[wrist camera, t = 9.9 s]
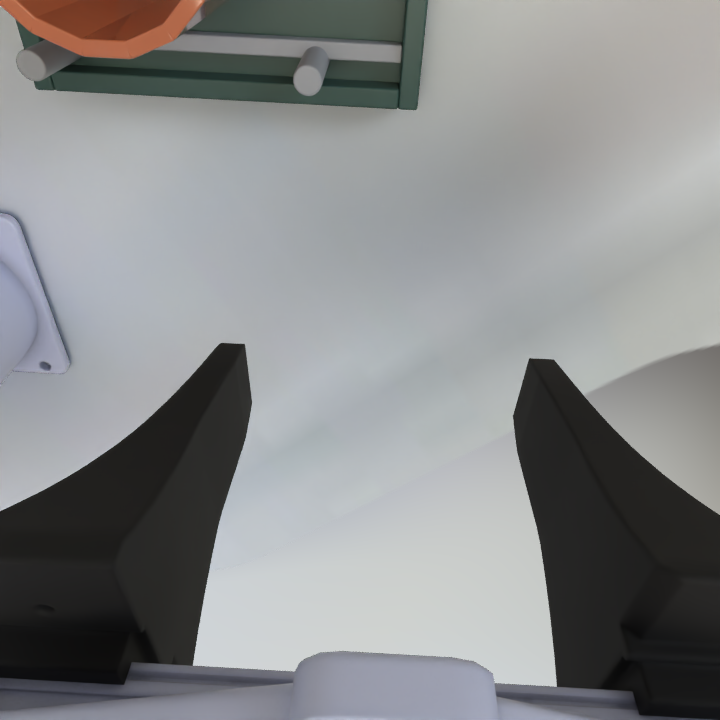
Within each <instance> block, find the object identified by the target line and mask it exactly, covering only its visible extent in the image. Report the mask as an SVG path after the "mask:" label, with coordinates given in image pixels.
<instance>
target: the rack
mask: <svg viewBox="0 0 720 720" xmlns="http://www.w3.org/2000/svg"><path fill="white" fill-rule="evenodd" d="M427 4H428V0H228V1H227V2H226V3H224V4H223V5H222V6H220V7H219V8H218V9H216V10H215V11H213V12H212V13H211V14H209V15H208V16H207V17H205V18H204V19H203V20H201V21H200V22H199V23H197V24H196V25H194V26H193V27H192V28H190V29H189V30H188V31H186V32H185V33H184V34H182V35H181V36H180V37H178V38H177V39H175V40H174V41H173V42H170V43H168V44H166V45H164V46H161V47H159V48H157V49H154V50H152V51H150V52H148V53H145V54H143V55H141V56H139V57H136V58H134V59H133V58H132V59H117V58H99V57H84V56H80V55H78V54H76V53H74V52H72V51H69V50H67V49H65V48H63V47H61V46H59V45H56V44H54V43H52V42H50V41H48V40H46V39H43V38H41V37H39V36H37V35H35V34H33V33H32V32H30V31H28V30H27V29H26V28H25V27H24V26H23V25H22V24H21V23H19V22H18V21H17V20H16V23H17V26H18V29H19V33H20V36H21V40H22V43H23V46H24V50H22V51H20V52H19V53H18V55H17V58H16V63H17V66H18V69H19V70H20V72H21V73H22V74H23V75H24V76H25V77H26V78H28V79H30V80H32V81H34V83H35V87H36V89H38V90H57V91H73V92H91V93H109V94H128V95H146V96H164V97H183V98H201V99H220V100H238V101H256V102H275V103H293V104H311V105H330V106H348V107H367V108H385V109H397V108H399V109H403V110H416V109H417V106H418V96H419V86H420V76H421V65H422V55H423V45H424V35H425V25H426V15H427Z"/></svg>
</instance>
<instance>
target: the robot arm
mask: <svg viewBox="0 0 720 720" xmlns="http://www.w3.org/2000/svg"><path fill="white" fill-rule="evenodd" d="M45 362H47V363H48V364H47V363H45ZM49 364H50V365H49ZM69 367H70V362H69V359H68V356H67V353H66V351H65V348H64V345H63V342H62V340H61V337H60V334H59V331H58V329H57V326H56V323H55V320H54V318H53V315H52V312H51V309H50V307H49V304H48V301H47V298H46V296H45V293H44V290H43V287H42V285H41V282H40V279H39V276H38V274H37V271H36V268H35V265H34V263H33V260H32V257H31V254H30V252H29V249H28V246H27V244H26V241H25V238H24V235H23V233H22V230H21V227H20V225H19V223H18V221H17V220H16V219H15V218H14V217H12V216H10V215H8V214H4V213H0V386H1V385H2V384H3V382H4V381H5V380H6V378H7V377H8V376H9V375H10V373H11V372H12V371H16V372H33V373H51V374H64V373H65V372H66V371H67V370H68V368H69ZM251 406H252V398H251V390H250V382H249V374H248V366H247V358H246V350H245V344H231V343H220V344H219V345H218V346H217V347H216V348H215V349H214V351H213V352H212V353H211V354H210V355H209V356H208V358H207V359H206V360H205V361H204V362H203V363H202V365H201V366H200V367H199V368H198V369H197V370H196V371H195V372H194V373H193V375H192V376H191V377H190V378H189V379H188V380H187V381H186V382H185V383H184V384H183V385H182V386H181V387H180V388H179V390H178V391H177V392H176V393H175V394H174V395H173V396H172V397H171V398H170V399H169V400H168V401H167V402H166V403H165V404H164V405H162V406H161V407H160V408H159V409H158V410H157V411H156V412H155V413H154V414H153V415H152V416H151V417H150V418H149V419H148V420H146V421H145V422H144V423H143V424H142V425H141V426H139V427H138V428H137V429H136V430H135V431H133V432H132V433H131V434H130V435H128V436H127V437H126V438H125V439H123V440H122V441H121V442H120V443H118V444H117V445H116V446H114V447H113V448H111V449H110V450H108V451H107V452H105V453H104V454H102V455H101V456H100V457H98V458H97V459H95V460H94V461H92V462H91V463H89V464H88V465H86V466H85V467H83V468H81V469H80V470H78V471H77V472H75V473H73V474H72V475H70V476H68V477H67V478H65V479H63V480H61V481H59V482H58V483H56V484H54V485H52V486H50V487H49V488H47V489H45V490H43V491H41V492H39V493H37V494H35V495H33V496H31V497H29V498H27V499H25V500H23V501H21V502H19V503H17V504H15V505H13V506H11V507H9V508H6V509H4V510H2V511H0V720H720V515H719V514H717V513H716V512H714V511H713V510H711V509H710V508H708V507H707V506H705V505H704V504H702V503H701V502H699V501H698V500H696V499H695V498H694V497H692V496H691V495H690V494H688V493H687V492H686V491H684V490H683V489H682V488H680V487H679V486H677V485H676V484H675V483H673V482H672V481H671V480H670V479H668V478H667V477H666V476H665V475H663V474H662V473H661V472H660V471H658V470H657V469H656V468H655V467H654V466H653V465H652V464H650V463H649V462H648V461H647V460H646V459H645V458H643V457H642V456H641V455H640V454H639V453H638V452H637V451H636V450H635V449H633V448H632V447H631V446H630V445H629V444H628V443H627V442H626V441H625V440H624V439H623V438H622V437H621V436H620V435H619V434H618V433H617V432H616V431H615V430H614V429H613V428H612V427H611V426H610V425H609V424H608V423H607V421H605V419H604V418H603V417H602V416H601V415H600V414H599V413H598V412H597V411H596V409H595V408H594V407H593V406H592V405H591V404H590V403H589V401H588V400H587V399H586V398H585V397H584V396H583V394H582V393H581V392H580V391H579V390H578V388H577V387H576V386H575V385H574V384H573V382H572V381H571V380H570V379H569V377H568V376H567V375H566V374H565V373H564V371H563V370H562V369H561V368H560V367H559V365H558V364H557V363H556V362H555V361H554V360H551V359H531V358H529V361H528V365H527V369H526V372H525V376H524V379H523V383H522V386H521V390H520V394H519V397H518V401H517V404H516V408H515V411H514V415H513V419H514V429H515V438H516V445H517V452H518V456H519V460H520V464H521V468H522V472H523V476H524V480H525V484H526V487H527V491H528V495H529V499H530V503H531V506H532V510H533V514H534V518H535V522H536V525H537V530H538V534H539V539H540V544H541V550H542V558H543V564H544V571H545V578H546V585H547V593H548V601H549V608H550V617H551V627H552V636H553V646H554V655H555V667H556V679H557V687H550V686H533V685H532V686H531V685H515V684H497V683H494V678H493V674H492V673H491V672H490V671H489V670H487V669H486V668H484V667H482V666H481V665H479V664H477V663H476V662H474V661H469V660H463V659H458V658H452V657H436V656H418V655H401V654H383V653H366V652H365V653H364V652H348V651H338V652H323V653H318V654H316V655H313V656H311V657H308V658H306V659H304V660H303V661H301V662H300V663H299V665H298V667H297V669H296V671H295V672H292V671H291V672H290V671H274V670H257V669H240V668H223V667H222V668H221V667H205V666H193V660H194V653H195V647H196V640H197V634H198V627H199V623H200V617H201V611H202V605H203V599H204V593H205V588H206V584H207V578H208V573H209V568H210V563H211V558H212V553H213V548H214V543H215V538H216V534H217V529H218V525H219V521H220V517H221V514H222V510H223V507H224V504H225V501H226V498H227V494H228V491H229V488H230V485H231V482H232V479H233V476H234V473H235V470H236V467H237V464H238V460H239V457H240V454H241V451H242V448H243V445H244V441H245V438H246V433H247V428H248V423H249V417H250V412H251Z"/></svg>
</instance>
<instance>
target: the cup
mask: <svg viewBox="0 0 720 720" xmlns="http://www.w3.org/2000/svg"><path fill="white" fill-rule="evenodd" d="M227 1H228V0H0V6H2V7H3V8H4V9H5V10H6V11H7V12H8V13H9V14H11V15H12V16H13V17H14V18H15V19H16V20H17V21H18V22H19V23H21V24H22V25H23V26H24V27H25V28H26V29H27V30H28V31H30V32H32V33H33V34H35V35H37V36H39V37H41V38H43V39H46V40H48V41H50V42H52V43H54V44H56V45H59V46H61V47H63V48H65V49H67V50H69V51H72V52H74V53H76V54H78V55H80V56H84V57H99V58H117V59H132V58H133V59H134V58H136V57H139V56H141V55H143V54H145V53H148V52H150V51H152V50H154V49H157V48H159V47H161V46H164V45H166V44H168V43H170V42H173V41H174V40H175V39H177V38H178V37H180V36H181V35H182V34H184V33H185V32H186V31H188V30H189V29H190V28H192V27H193V26H194V25H196V24H197V23H199V22H200V21H201V20H203V19H204V18H205V17H207V16H208V15H209V14H211V13H212V12H213V11H215V10H216V9H218V8H219V7H220V6H222V5H223V4H224V3H226V2H227Z"/></svg>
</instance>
